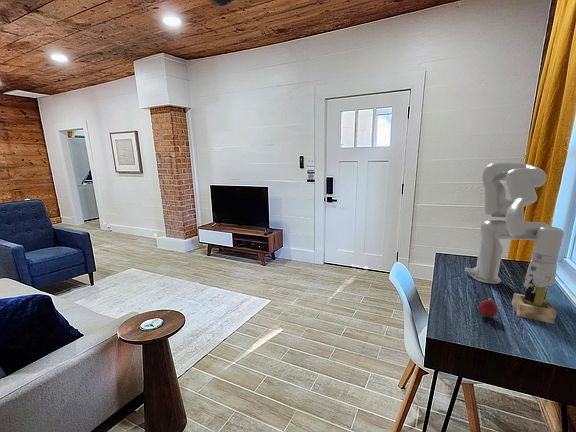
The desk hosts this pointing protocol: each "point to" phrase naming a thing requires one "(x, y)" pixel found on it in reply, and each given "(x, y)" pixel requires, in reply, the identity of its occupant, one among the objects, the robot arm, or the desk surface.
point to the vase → (537, 297)
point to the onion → (488, 308)
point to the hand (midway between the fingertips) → (534, 299)
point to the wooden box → (534, 309)
